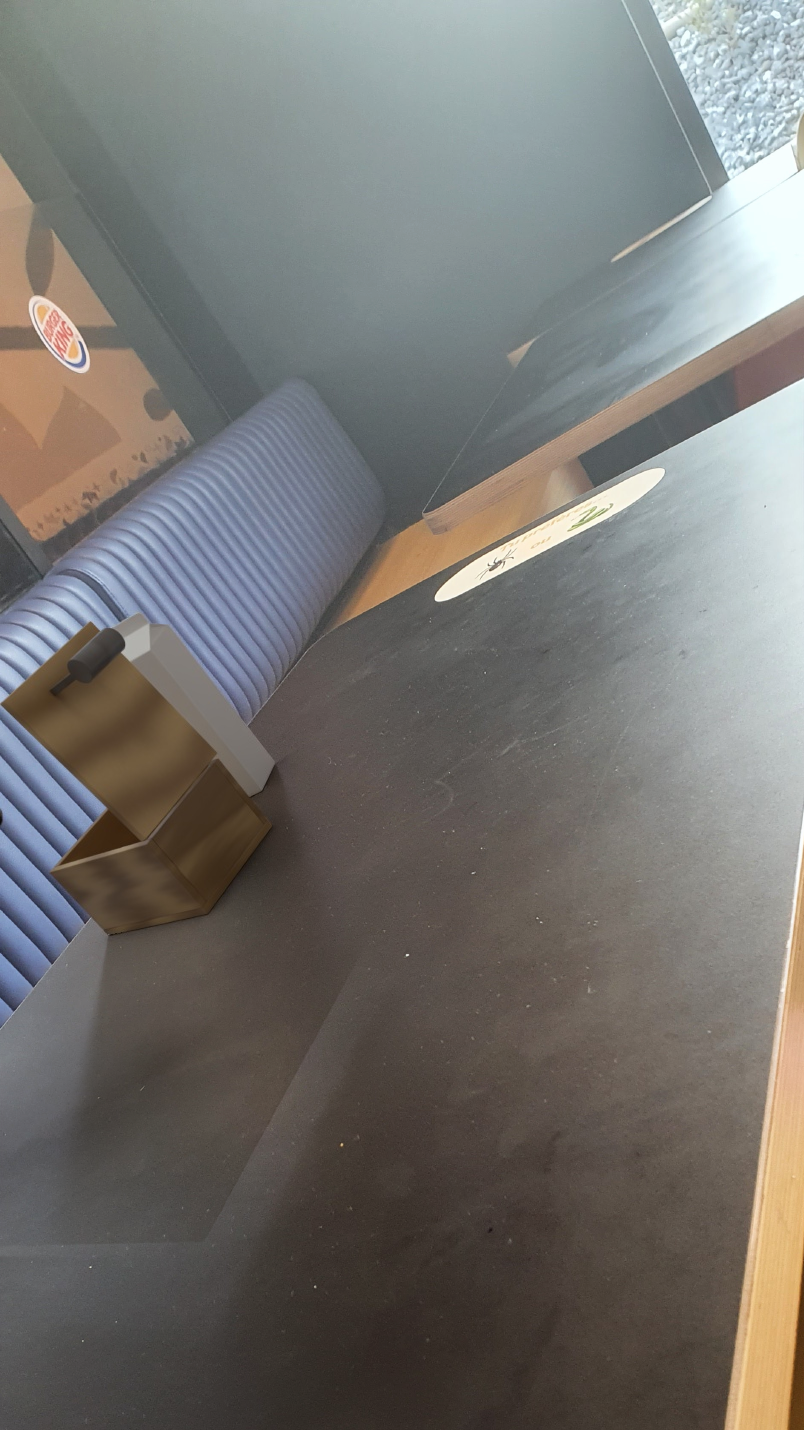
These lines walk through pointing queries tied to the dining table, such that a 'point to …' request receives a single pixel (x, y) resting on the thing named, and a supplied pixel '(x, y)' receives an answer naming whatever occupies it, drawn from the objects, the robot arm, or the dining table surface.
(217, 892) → the chest
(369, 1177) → the dining table surface
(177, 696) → the milk
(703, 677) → the dining table surface
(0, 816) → the black clip-on device
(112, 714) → the lid
